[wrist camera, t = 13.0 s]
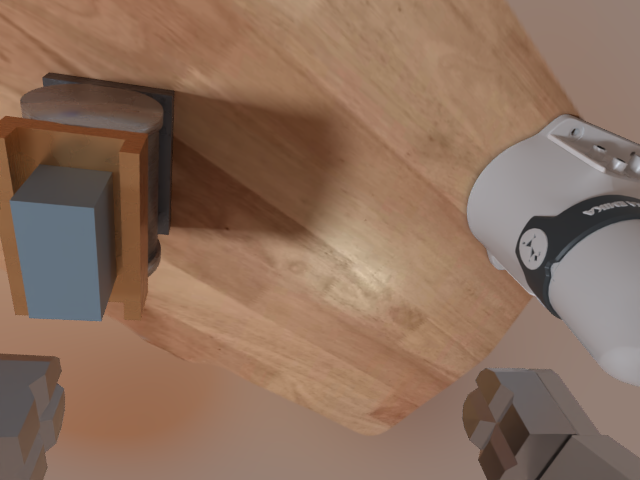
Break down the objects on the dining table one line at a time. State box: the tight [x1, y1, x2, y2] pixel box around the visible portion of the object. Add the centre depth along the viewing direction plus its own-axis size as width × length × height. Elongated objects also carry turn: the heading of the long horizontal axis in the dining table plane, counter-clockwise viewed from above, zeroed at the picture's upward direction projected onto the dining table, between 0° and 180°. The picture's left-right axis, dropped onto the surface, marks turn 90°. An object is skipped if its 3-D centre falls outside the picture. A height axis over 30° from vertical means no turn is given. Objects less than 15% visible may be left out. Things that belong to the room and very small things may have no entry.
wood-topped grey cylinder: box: [0, 73, 174, 320], centre depth 39 cm, size 10×14×14 cm
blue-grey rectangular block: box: [9, 164, 117, 321], centre depth 33 cm, size 4×11×5 cm, turn 169°
